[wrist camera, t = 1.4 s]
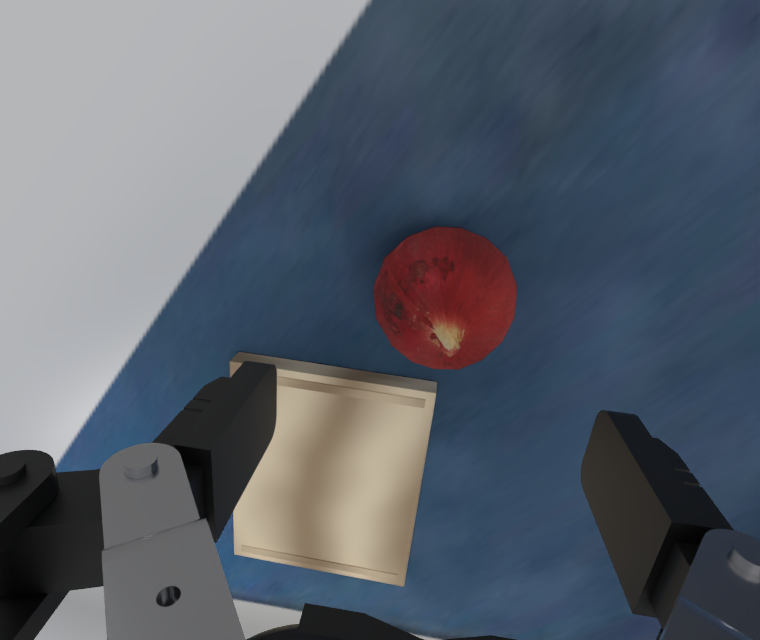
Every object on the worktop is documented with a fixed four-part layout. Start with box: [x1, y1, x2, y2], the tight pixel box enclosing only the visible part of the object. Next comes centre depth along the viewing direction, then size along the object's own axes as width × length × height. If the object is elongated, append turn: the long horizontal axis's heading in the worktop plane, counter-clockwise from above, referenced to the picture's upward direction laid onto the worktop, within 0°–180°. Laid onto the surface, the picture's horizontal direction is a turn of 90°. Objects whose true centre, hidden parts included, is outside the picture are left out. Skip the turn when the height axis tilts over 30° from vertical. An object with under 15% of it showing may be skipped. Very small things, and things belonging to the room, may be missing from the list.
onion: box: [374, 227, 517, 370], centre depth 19 cm, size 6×6×8 cm
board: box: [230, 352, 437, 587], centre depth 28 cm, size 11×14×1 cm
